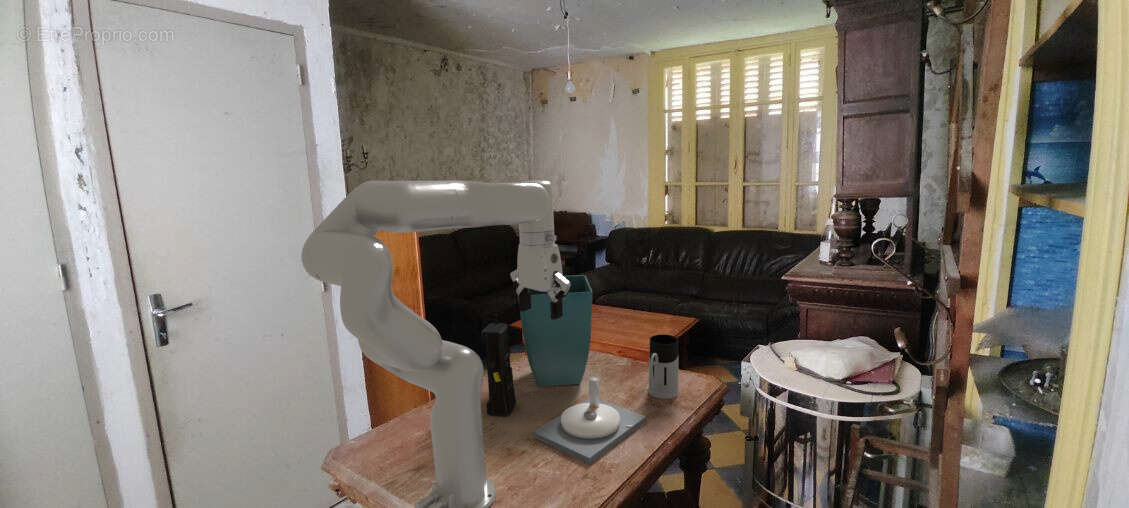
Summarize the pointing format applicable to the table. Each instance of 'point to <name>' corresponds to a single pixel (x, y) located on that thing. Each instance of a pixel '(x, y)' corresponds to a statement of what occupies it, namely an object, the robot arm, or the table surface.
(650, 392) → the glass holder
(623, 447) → the table surface
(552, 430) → the stand
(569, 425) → the white round dome
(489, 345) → the portable radio
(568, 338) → the flower pot
